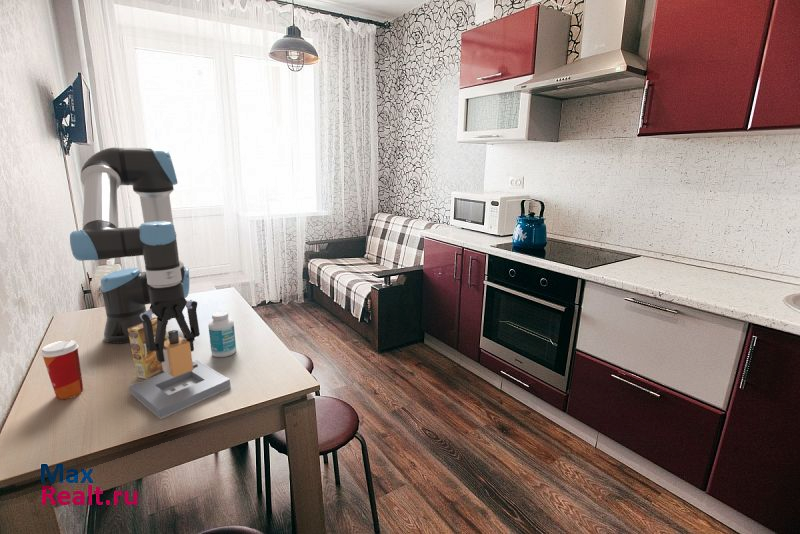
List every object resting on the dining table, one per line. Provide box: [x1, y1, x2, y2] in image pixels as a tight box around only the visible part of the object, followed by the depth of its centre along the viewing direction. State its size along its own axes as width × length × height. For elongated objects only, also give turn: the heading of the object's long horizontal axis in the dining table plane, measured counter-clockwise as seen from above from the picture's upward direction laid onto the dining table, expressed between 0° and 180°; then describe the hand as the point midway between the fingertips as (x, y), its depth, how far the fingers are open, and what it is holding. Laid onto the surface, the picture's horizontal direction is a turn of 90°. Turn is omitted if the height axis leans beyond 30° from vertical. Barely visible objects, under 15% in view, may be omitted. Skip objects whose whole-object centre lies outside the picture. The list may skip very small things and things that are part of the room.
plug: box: [164, 329, 193, 377], centre depth 106 cm, size 6×5×11 cm
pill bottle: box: [207, 311, 237, 358], centre depth 129 cm, size 8×7×14 cm
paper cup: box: [40, 339, 84, 400], centre depth 106 cm, size 8×8×14 cm
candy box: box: [128, 317, 169, 380], centre depth 117 cm, size 9×4×15 cm, turn 163°
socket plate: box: [129, 359, 232, 420], centre depth 109 cm, size 18×18×3 cm
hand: (178, 367), depth 107 cm, fingers closed on plug, 5 cm apart
